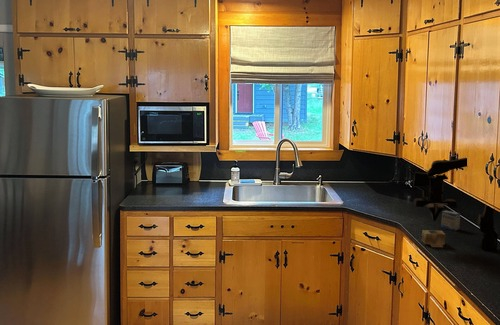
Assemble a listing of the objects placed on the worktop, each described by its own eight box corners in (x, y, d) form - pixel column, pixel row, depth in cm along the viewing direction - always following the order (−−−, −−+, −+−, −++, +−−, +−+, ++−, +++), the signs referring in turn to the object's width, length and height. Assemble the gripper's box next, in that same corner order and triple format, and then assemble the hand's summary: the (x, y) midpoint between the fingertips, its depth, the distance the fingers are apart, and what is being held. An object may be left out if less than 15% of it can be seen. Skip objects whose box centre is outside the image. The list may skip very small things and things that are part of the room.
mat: (437, 240, 268) (437, 239, 268) (443, 247, 259) (443, 246, 259) (426, 240, 269) (426, 239, 269) (431, 246, 259) (432, 245, 259)
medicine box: (440, 227, 291) (441, 211, 289) (444, 226, 294) (446, 210, 292) (455, 231, 285) (456, 214, 284) (459, 229, 288) (460, 212, 287)
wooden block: (441, 230, 265) (422, 229, 266) (445, 233, 260) (425, 233, 260) (440, 240, 266) (421, 240, 267) (444, 244, 260) (425, 244, 261)
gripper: (451, 185, 267) (449, 216, 269) (411, 184, 268) (409, 215, 270) (459, 190, 256) (456, 223, 258) (417, 189, 257) (415, 222, 259)
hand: (434, 220), depth 262 cm, fingers closed
